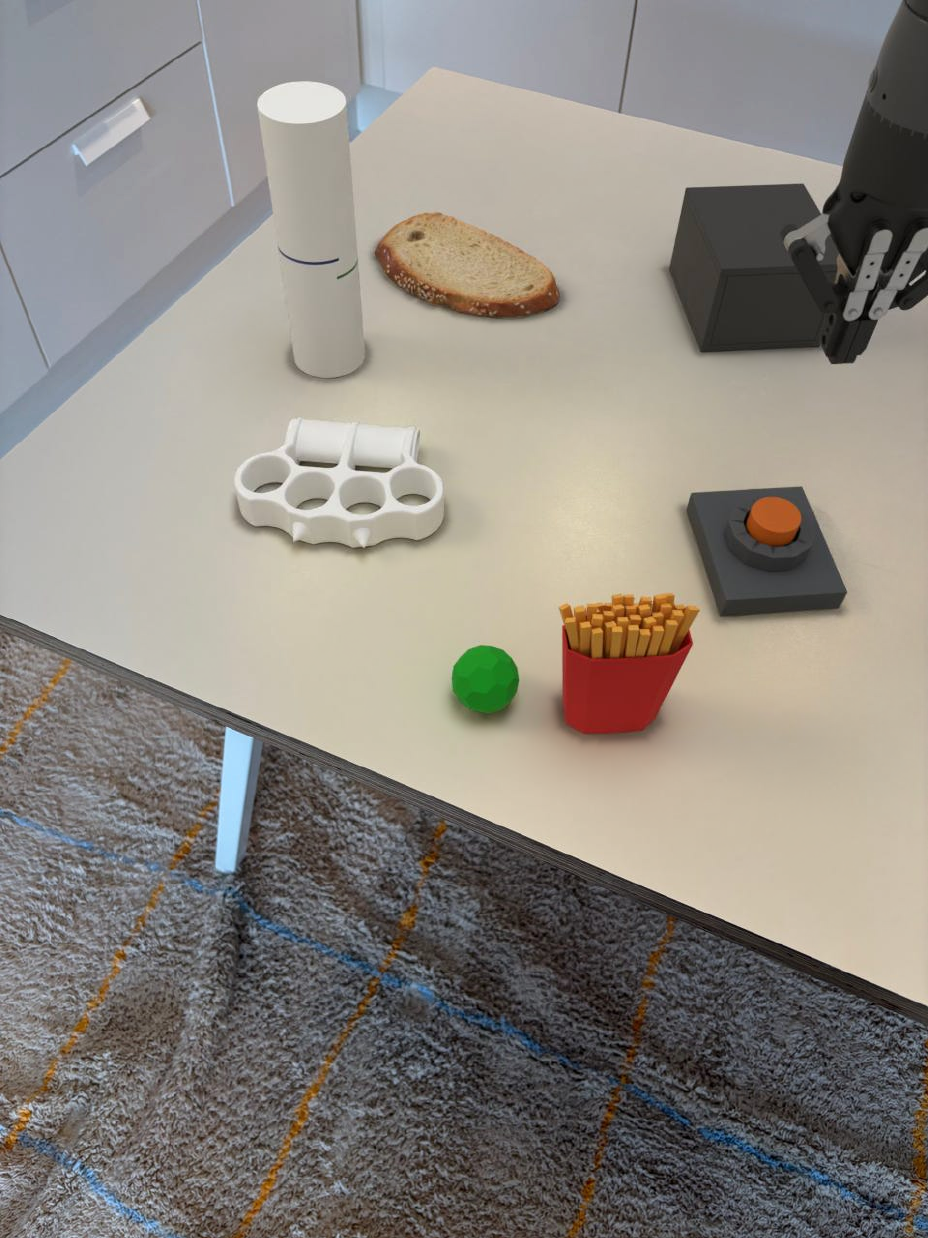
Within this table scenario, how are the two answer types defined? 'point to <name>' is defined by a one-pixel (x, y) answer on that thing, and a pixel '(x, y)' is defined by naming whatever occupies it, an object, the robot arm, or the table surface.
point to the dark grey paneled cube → (746, 268)
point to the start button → (773, 521)
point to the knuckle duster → (342, 484)
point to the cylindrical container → (314, 223)
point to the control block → (763, 556)
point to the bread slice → (465, 268)
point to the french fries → (622, 660)
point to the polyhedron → (485, 679)
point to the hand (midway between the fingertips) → (837, 356)
